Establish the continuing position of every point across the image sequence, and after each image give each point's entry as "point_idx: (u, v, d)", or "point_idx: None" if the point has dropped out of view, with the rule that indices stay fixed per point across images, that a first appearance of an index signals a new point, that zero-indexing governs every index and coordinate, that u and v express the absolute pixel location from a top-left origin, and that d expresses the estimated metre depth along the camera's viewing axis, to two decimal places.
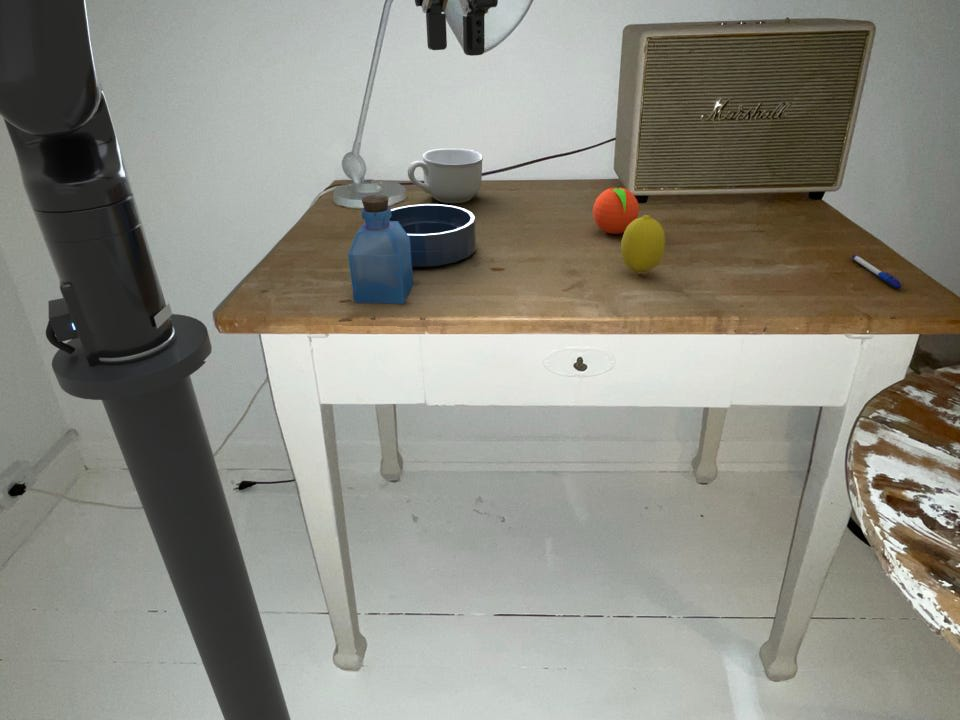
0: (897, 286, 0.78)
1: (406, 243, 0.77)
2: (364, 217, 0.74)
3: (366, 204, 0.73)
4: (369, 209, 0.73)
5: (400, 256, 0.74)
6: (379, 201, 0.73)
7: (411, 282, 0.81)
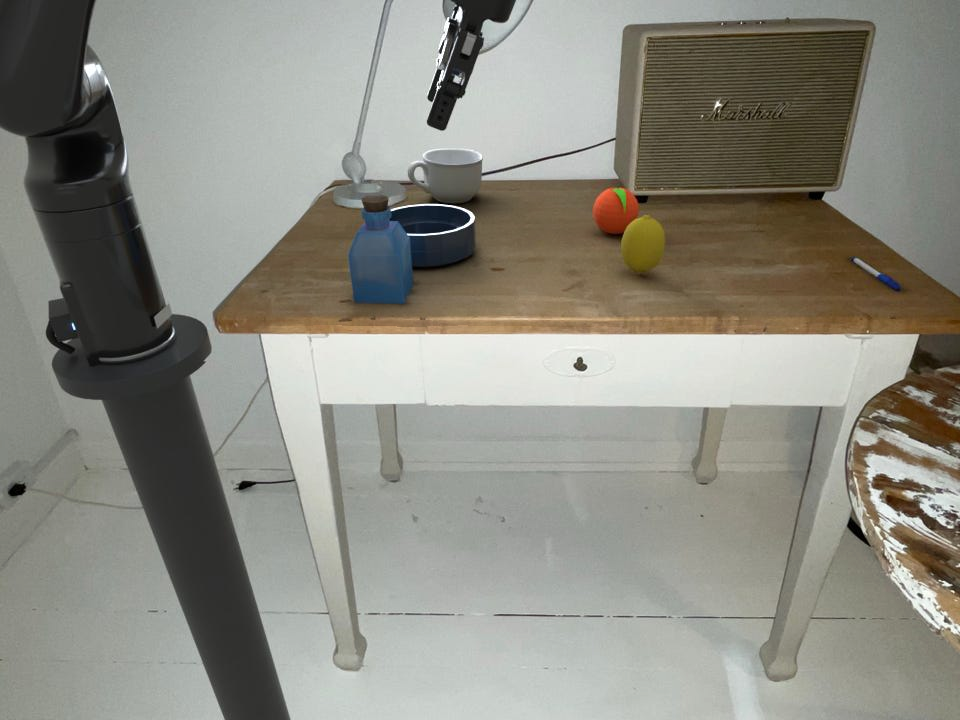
0: (896, 288, 0.78)
1: (406, 243, 0.77)
2: (364, 217, 0.74)
3: (366, 204, 0.73)
4: (369, 209, 0.73)
5: (400, 256, 0.74)
6: (379, 201, 0.73)
7: (411, 282, 0.81)
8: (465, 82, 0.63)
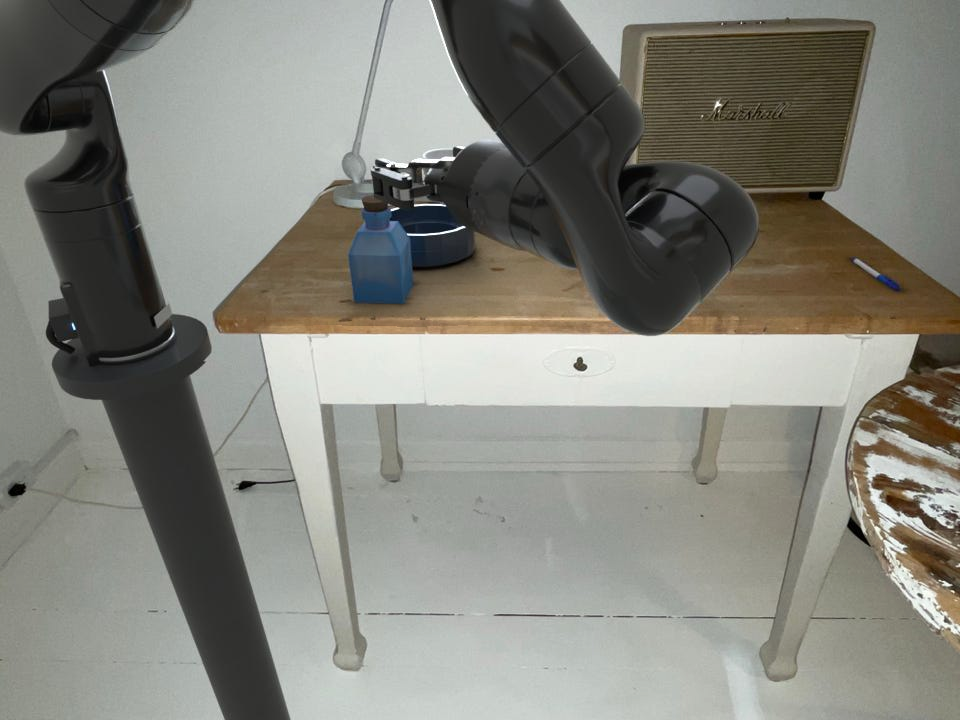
0: (896, 289, 0.78)
1: (406, 243, 0.77)
2: (364, 217, 0.74)
3: (366, 204, 0.73)
4: (369, 209, 0.73)
5: (400, 256, 0.74)
6: (379, 201, 0.73)
7: (411, 282, 0.81)
8: (380, 197, 0.55)
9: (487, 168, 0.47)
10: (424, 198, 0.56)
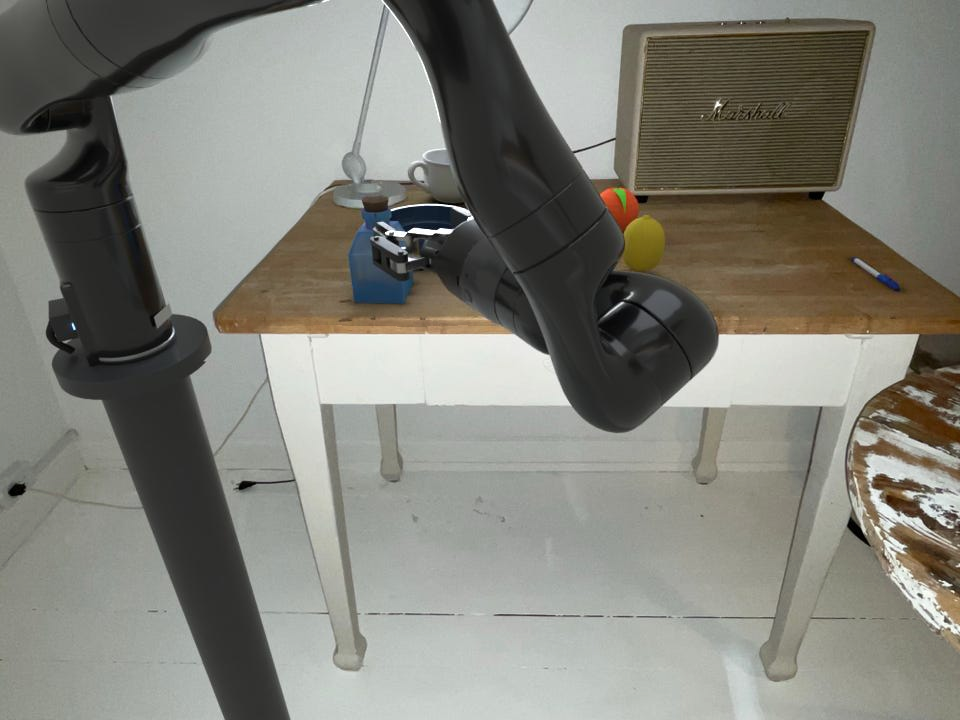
0: (895, 288, 0.78)
1: None
2: (364, 217, 0.74)
3: (366, 204, 0.73)
4: (369, 209, 0.73)
5: None
6: (379, 201, 0.73)
7: (411, 282, 0.81)
8: (378, 265, 0.58)
9: (477, 253, 0.51)
10: None
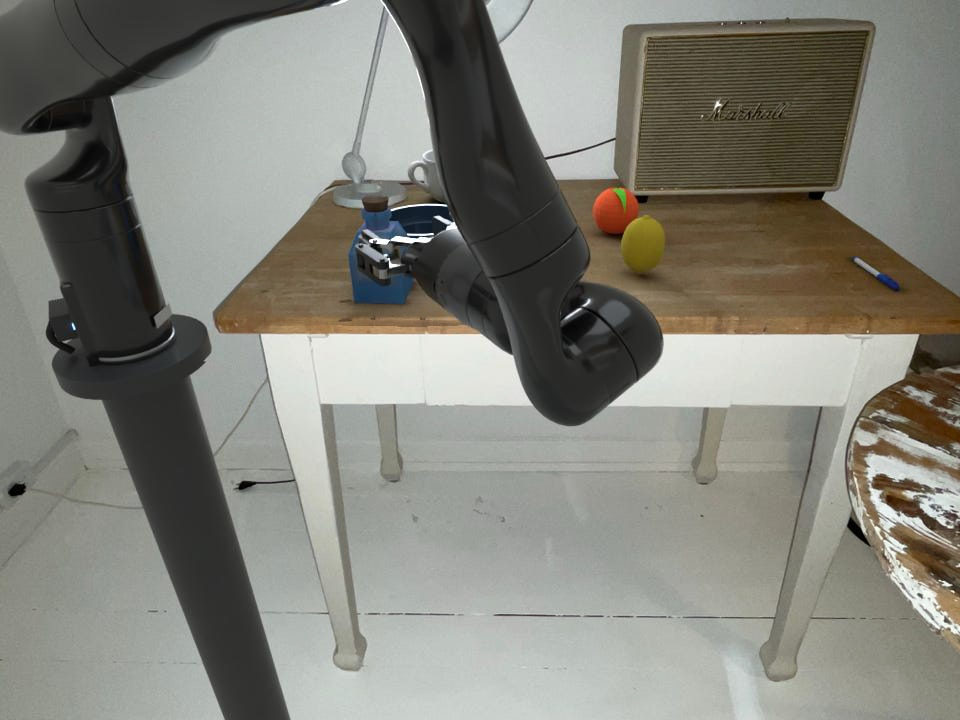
0: (895, 288, 0.78)
1: None
2: (364, 217, 0.74)
3: (366, 204, 0.73)
4: (369, 209, 0.73)
5: None
6: (379, 201, 0.73)
7: (411, 282, 0.81)
8: (362, 270, 0.63)
9: (451, 261, 0.55)
10: None
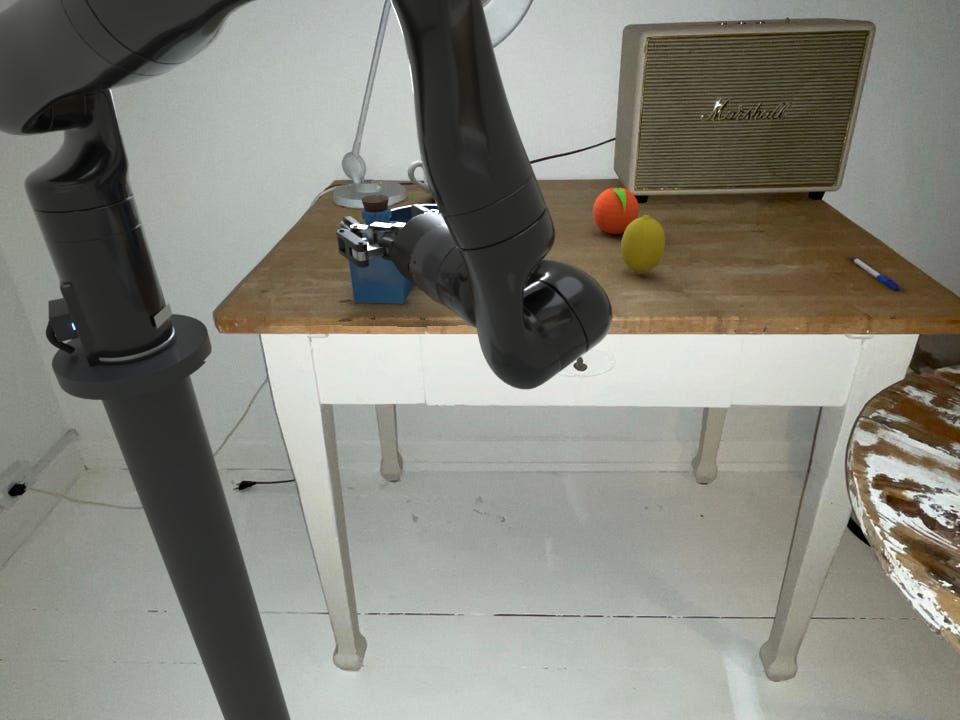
0: (895, 289, 0.78)
1: None
2: (364, 217, 0.74)
3: (366, 204, 0.73)
4: (369, 209, 0.73)
5: None
6: (379, 201, 0.73)
7: None
8: (343, 254, 0.67)
9: (423, 243, 0.59)
10: None
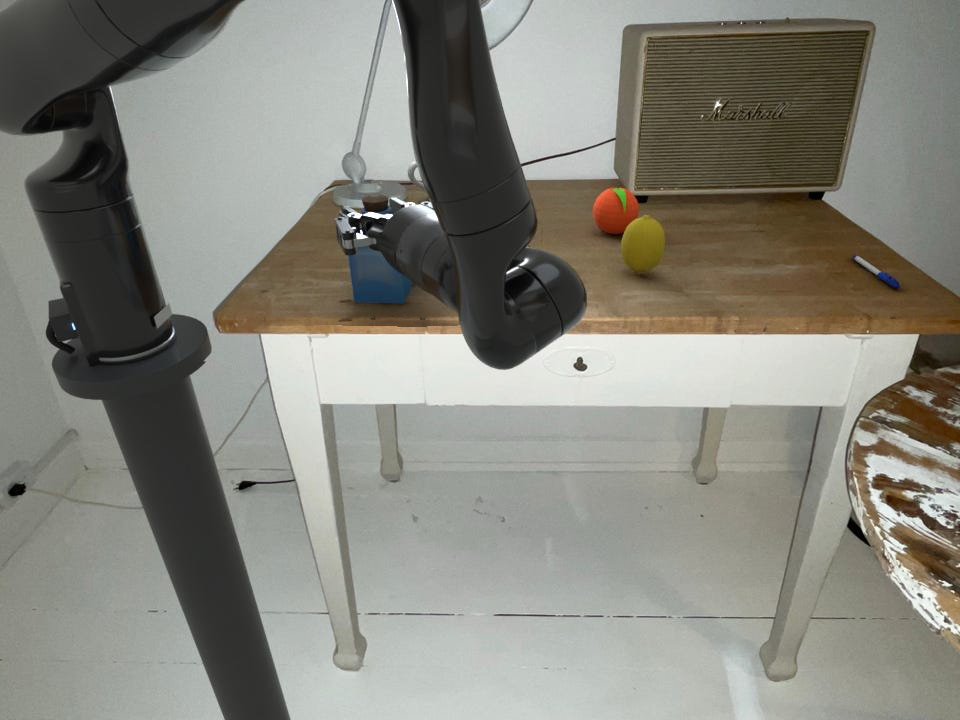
0: (896, 286, 0.78)
1: None
2: None
3: (366, 204, 0.73)
4: (369, 209, 0.73)
5: None
6: (379, 200, 0.73)
7: (411, 282, 0.81)
8: (338, 241, 0.70)
9: (409, 232, 0.61)
10: None
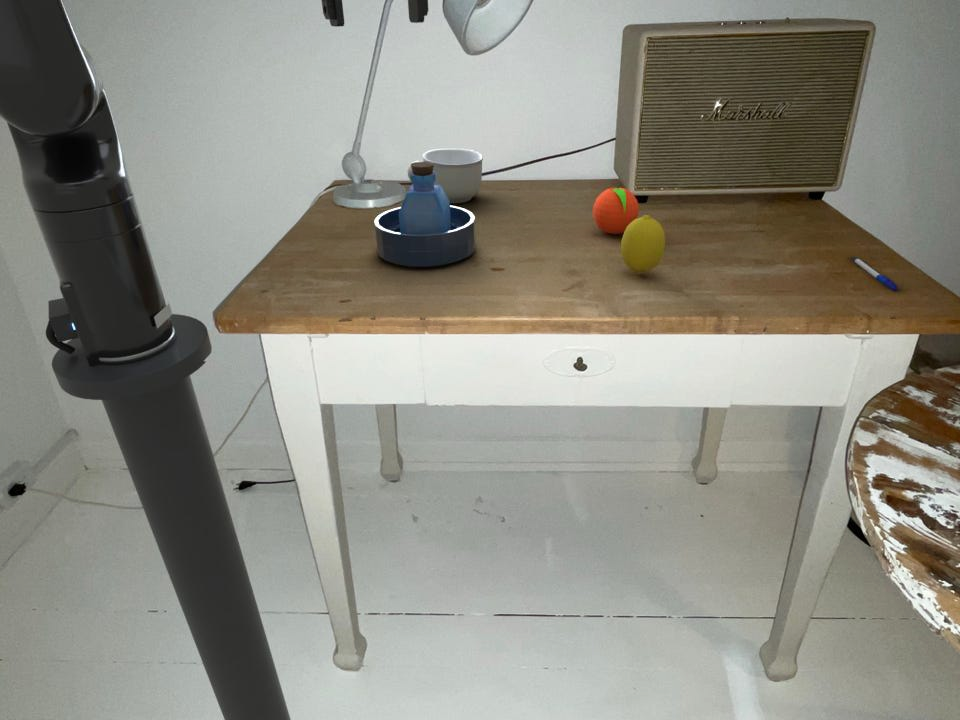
0: (893, 289, 0.78)
1: (447, 204, 0.89)
2: (413, 180, 0.86)
3: (415, 169, 0.85)
4: (417, 173, 0.85)
5: (444, 214, 0.86)
6: (426, 165, 0.85)
7: None
8: None
9: None
10: None
